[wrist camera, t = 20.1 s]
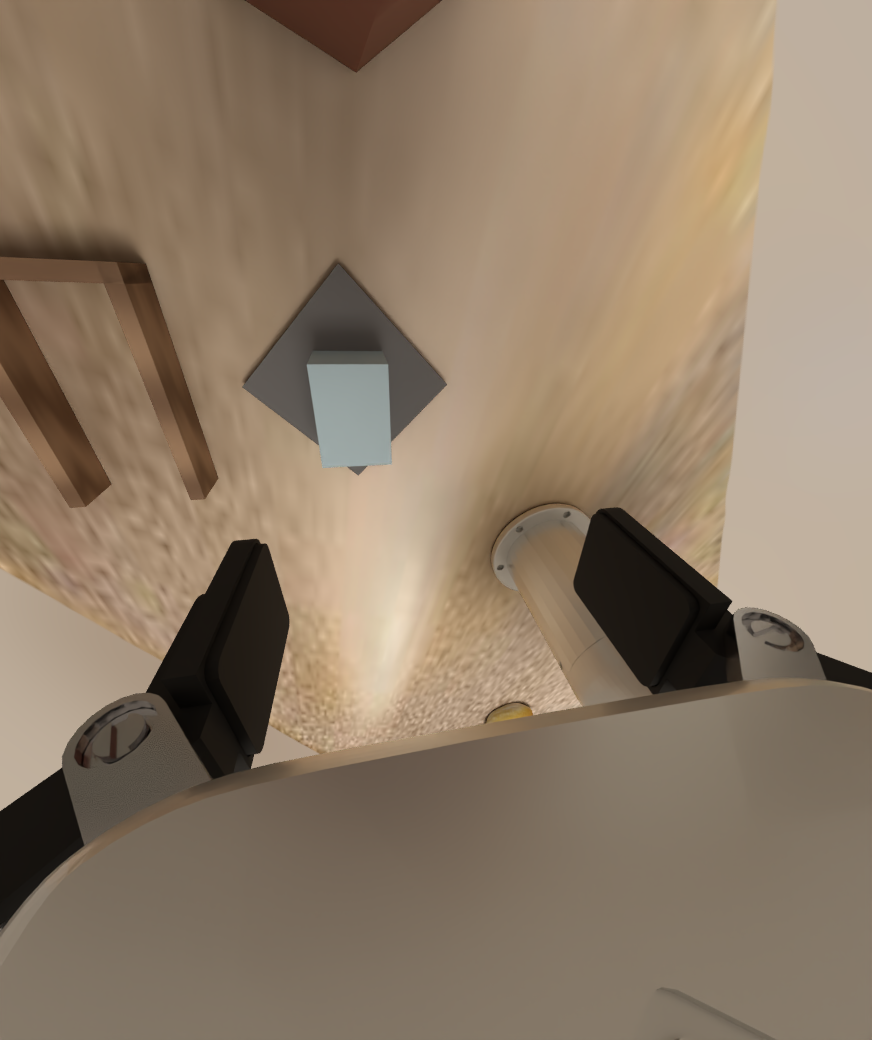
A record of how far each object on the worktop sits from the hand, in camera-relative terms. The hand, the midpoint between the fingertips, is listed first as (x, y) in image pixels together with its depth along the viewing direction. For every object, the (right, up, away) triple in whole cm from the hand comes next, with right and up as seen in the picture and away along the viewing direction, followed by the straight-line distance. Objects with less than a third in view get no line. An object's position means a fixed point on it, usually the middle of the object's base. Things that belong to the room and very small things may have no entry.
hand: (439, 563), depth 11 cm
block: (-7, +11, +18) cm, 22 cm away
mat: (-7, +12, +18) cm, 23 cm away
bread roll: (+13, -34, +55) cm, 66 cm away
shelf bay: (-23, +10, +15) cm, 30 cm away
